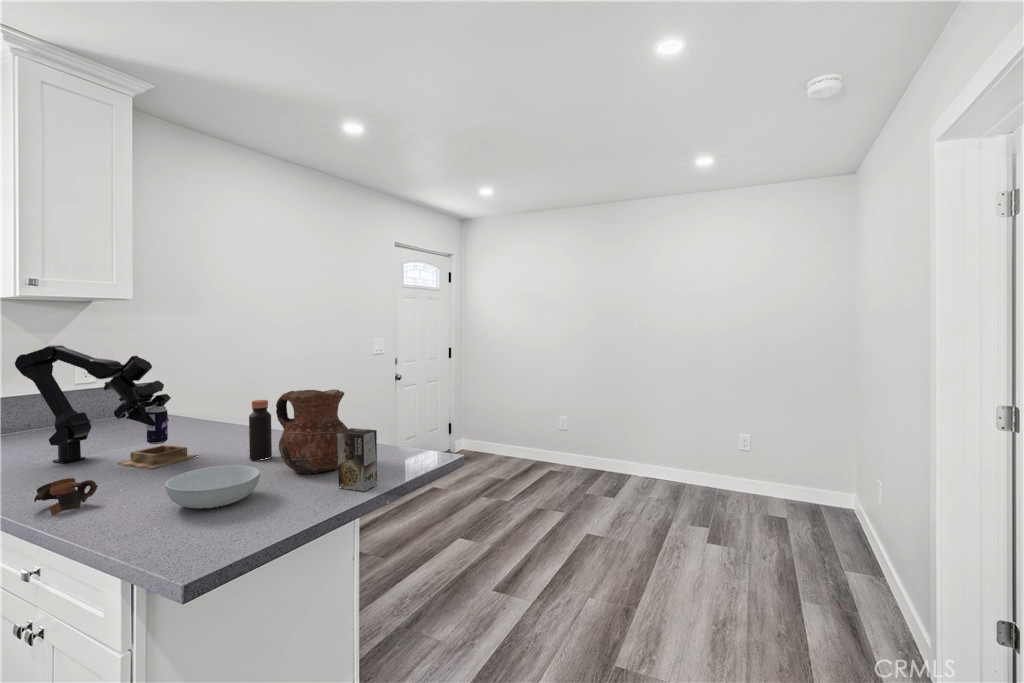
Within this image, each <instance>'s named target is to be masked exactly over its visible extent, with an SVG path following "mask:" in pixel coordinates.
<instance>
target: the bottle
mask: <svg viewBox="0 0 1024 683" xmlns="http://www.w3.org/2000/svg"><path fill="white" fill-rule="evenodd" d="M268 407H269V401H268V399H257V400H256V399H255V400H251V410H252V412H251V413H250V414H249V416H248V428H249V429H248V433H249V437H248V439H249V442H248V444H249V460H250V459H252V460H260V459H265V458H269V457H271V456H272V454H273V451H272V450H273V449H272V448H273V447H272V446H273V445H272V443H273V442H272V413H270V411H268ZM272 457H273V456H272ZM272 457H271V458H272ZM252 460H251V461H252Z"/></svg>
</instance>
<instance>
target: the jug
mask: <svg viewBox="0 0 1024 683" xmlns="http://www.w3.org/2000/svg"><path fill="white" fill-rule="evenodd" d="M344 395H345V392H344V391H343V390H339V389H329V390H325V391H322V390H318V389H304V390H301V389H299V390H290V391H288V392H285V393H282V395H281V396H279V398H278V400H277V401H276V404H275V407H276V410H275V412H276V418H277V420H278V422H279V424H280V425H281V426H282V428H283V432H282V433H281V436H280V438H279V442H278V451H279V454H280V457H281V459H282V461H283V462H284V464H285V465H286V466H287V467H288V468H289V469H291V470H292V471H294V472H295V473H296V472H297V474H301V473H314V474H317V473H316V472H322V473H324V472H323V471H327V472H329V471H328V470H331V471H333V470H332V469H334V470H336V469H338V468H337V467H338V435H337V433H339V432H342V431H344V430H347V429H349V428H348V427H347V426H346V425H345V424H344V423H343V422H342V421H341V420H340V419H339V415H338V414H339V405H340V402H341V401H342V399H343V397H344ZM288 402H289V403H290V405H291V406H292V409H293V418H289V415H288V409H287V408H288V407H287V406H288ZM335 468H336V469H335Z"/></svg>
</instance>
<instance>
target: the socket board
mask: <svg viewBox="0 0 1024 683" xmlns="http://www.w3.org/2000/svg"><path fill="white" fill-rule="evenodd" d="M196 456H199V457H200V455H199V454H194V453H188V447H186V446H178V445H171V444H161V445H158V446H157V445H156V446H153V447H148V448H145V449H140V450H136V451H132V452H130V459H127V460H123V461H119V462H117V465H119V464H123V465H122V466H125V465H129V466H128V467H132V466H135V467H134V468H138V467H141V468H140V469H144V468H148V469H147V470H150V469H151V470H153V469H152V468H155V469H157V468H156V467H159V468H161V467H160V466H162V467H165V466H164V465H166V466H169V465H168V464H170V465H173V464H172V463H174V464H176V463H175V462H177V463H180V461H181V462H184V461H183V460H185V461H188V460H187V459H189V460H191V459H190V458H192V459H194V458H193V457H196ZM196 458H197V457H196Z"/></svg>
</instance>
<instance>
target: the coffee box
mask: <svg viewBox="0 0 1024 683" xmlns="http://www.w3.org/2000/svg"><path fill="white" fill-rule="evenodd" d="M337 435H338V468H337V469H338V470H337V471H338V474H337V475H338V476H337V477H338V479H337V480H338V488H339V487H341V488H346V489H354V490H353V491H355V490H361V491H360V492H363V491H365V492H367V491H369V490H370V489H369V488H371V487H373V486H375V485H377V486H378V455H377V454H378V449H377V448H378V446H377V444H378V443H377V442H378V441H377V437H378V436H377V429H365V428H355V427H354V428H348V429H347V430H344V431H342V432H339V433H337ZM375 487H376V486H375ZM373 488H374V487H373ZM346 489H345V490H346ZM368 489H369V490H368ZM371 489H372V488H371ZM366 490H367V491H366Z"/></svg>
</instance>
